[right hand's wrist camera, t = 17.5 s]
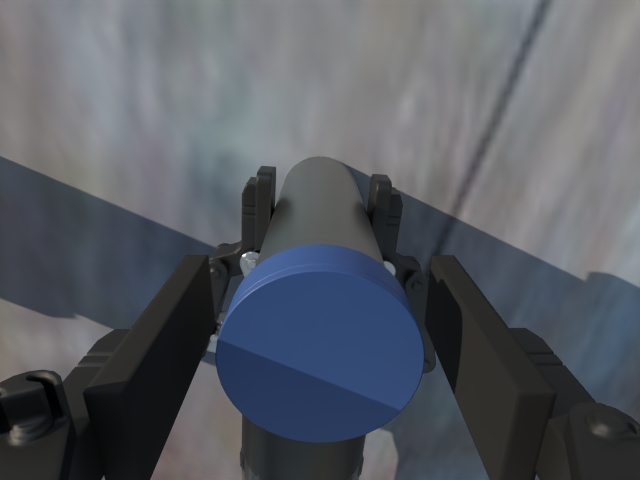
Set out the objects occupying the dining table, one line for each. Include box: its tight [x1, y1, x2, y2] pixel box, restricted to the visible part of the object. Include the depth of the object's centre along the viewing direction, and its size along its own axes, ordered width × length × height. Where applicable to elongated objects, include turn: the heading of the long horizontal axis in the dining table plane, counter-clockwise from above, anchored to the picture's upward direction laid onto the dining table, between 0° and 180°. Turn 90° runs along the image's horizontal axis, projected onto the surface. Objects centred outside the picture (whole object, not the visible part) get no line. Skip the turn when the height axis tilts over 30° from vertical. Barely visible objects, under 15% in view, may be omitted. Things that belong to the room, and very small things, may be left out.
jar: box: [255, 157, 386, 268], centre depth 19 cm, size 5×5×16 cm
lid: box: [216, 244, 425, 443], centre depth 12 cm, size 5×5×2 cm
